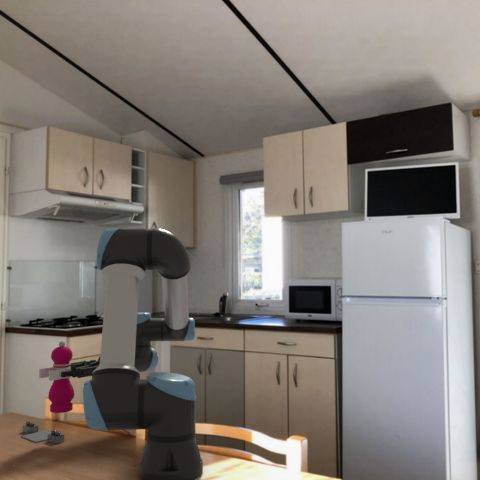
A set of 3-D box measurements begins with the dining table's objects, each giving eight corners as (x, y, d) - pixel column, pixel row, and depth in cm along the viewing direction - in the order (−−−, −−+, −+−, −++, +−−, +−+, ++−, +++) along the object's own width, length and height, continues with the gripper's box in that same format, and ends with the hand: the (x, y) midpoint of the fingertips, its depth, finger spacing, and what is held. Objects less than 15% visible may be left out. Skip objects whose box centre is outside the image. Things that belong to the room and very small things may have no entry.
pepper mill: (48, 408, 164) (49, 340, 165) (74, 406, 166) (75, 339, 167) (47, 414, 157) (48, 343, 158) (74, 412, 159) (74, 341, 160)
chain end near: (64, 441, 160) (64, 431, 160) (54, 443, 158) (54, 433, 158) (57, 438, 163) (57, 429, 163) (47, 441, 160) (47, 431, 161)
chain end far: (38, 432, 170) (38, 422, 170) (29, 434, 168) (29, 424, 168) (32, 429, 173) (32, 420, 173) (22, 431, 170) (22, 422, 171)
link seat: (64, 436, 165) (64, 434, 165) (36, 442, 159) (36, 441, 159) (49, 430, 171) (49, 429, 172) (21, 436, 165) (21, 435, 165)
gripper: (130, 380, 169) (60, 392, 152) (98, 373, 181) (29, 383, 164) (130, 355, 169) (60, 364, 152) (98, 349, 181) (29, 358, 164)
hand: (44, 374), depth 158 cm, fingers closed on pepper mill, 5 cm apart
